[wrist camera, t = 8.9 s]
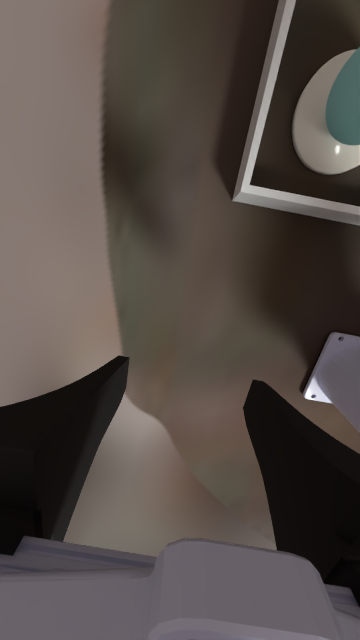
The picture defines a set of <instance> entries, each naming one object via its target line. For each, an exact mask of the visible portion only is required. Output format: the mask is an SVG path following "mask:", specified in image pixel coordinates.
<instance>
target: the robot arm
mask: <svg viewBox="0 0 360 640" xmlns="http://www.w3.org/2000/svg"><path fill="white" fill-rule="evenodd" d="M339 337H341V339H339ZM338 339H339V340H338ZM128 366H129V357H124V356H117V357H116V358H114V359H113V360H111V361H110V362H108V363H107V364H105V365H104V366H102V367H100V368H99V369H97V370H96V371H94V372H92V373H90V374H89V375H87V376H85V377H83V378H81V379H80V380H78V381H76V382H73V383H71V384H69V385H67V386H65V387H62V388H60V389H58V390H55V391H52V392H49V393H47V394H44V395H41V396H38V397H35V398H32V399H29V400H25V401H22V402H18V403H15V404H11V405H7V406H3V407H0V640H360V454H359V453H357V452H355V451H354V450H352V449H350V448H349V447H347V446H346V445H344V444H342V443H341V442H339V441H338V440H336V439H335V438H333V437H332V436H330V435H329V434H328V433H326V432H325V431H323V430H322V429H321V428H319V427H318V426H316V425H315V424H314V423H312V422H311V421H310V420H309V419H307V418H306V417H305V416H304V415H302V414H301V413H300V412H299V411H298V410H296V409H295V408H294V407H293V406H292V405H290V404H289V403H288V402H287V401H286V400H285V399H284V398H282V397H281V396H280V395H279V394H278V393H277V392H276V391H275V390H273V389H272V388H271V387H270V386H269V385H267V384H266V383H265V382H263V381H258V380H253V381H252V384H251V387H250V390H249V392H248V395H247V398H246V401H245V404H244V407H243V410H244V416H245V421H246V426H247V429H248V432H249V435H250V439H251V442H252V445H253V448H254V451H255V454H256V457H257V460H258V463H259V466H260V470H261V473H262V477H263V481H264V486H265V490H266V494H267V499H268V504H269V509H270V514H271V519H272V524H273V530H274V536H275V541H276V547H277V550H271V549H264V548H258V547H252V546H246V545H240V544H234V543H228V542H222V541H215V540H209V539H203V538H183V539H180V540H177V541H175V542H172V543H169V544H168V545H167V546H166V547H165V548H164V549H163V550H162V551H161V553H160V554H159V555H158V557H153V556H147V555H140V554H135V553H129V552H122V551H116V550H110V549H103V548H97V547H91V546H85V545H79V544H72V543H66V542H63V540H64V537H65V534H66V531H67V528H68V526H69V523H70V520H71V517H72V514H73V512H74V509H75V506H76V503H77V501H78V498H79V496H80V493H81V490H82V487H83V485H84V482H85V480H86V477H87V474H88V472H89V469H90V467H91V464H92V462H93V459H94V456H95V454H96V451H97V449H98V447H99V445H100V442H101V440H102V438H103V436H104V434H105V432H106V430H107V428H108V426H109V424H110V422H111V421H112V418H113V417H114V415H115V413H116V411H117V409H118V407H119V405H120V403H121V400H122V397H123V395H124V392H125V389H126V384H127V375H128ZM313 394H314V395H313ZM312 395H313V396H312ZM303 396H304V397H305V398H306V399H310V400H316V401H322V402H327V403H333V404H334V405H335V406H336V408H337V409H338V410H339V411H340V412H341V413H342V414H343V415H344V416H345V417H346V418H347V420H348V421H349V422H350V423H351V424H352V425H353V426H354V427H355V428H356V429H357V430H358V431H359V433H360V337H359V336H354V335H348V334H343V333H338V332H333V333H331V334H330V335H329V337H328V339H327V341H326V344H325V346H324V348H323V350H322V352H321V355H320V357H319V359H318V361H317V363H316V365H315V368H314V370H313V372H312V374H311V376H310V379H309V381H308V383H307V385H306V387H305V389H304V392H303Z"/></svg>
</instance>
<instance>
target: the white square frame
mask: <svg viewBox="0 0 360 640" xmlns="http://www.w3.org/2000/svg"><path fill="white" fill-rule="evenodd" d="M295 2H296V0H279V2H278V6H277V10H276V15H275V19H274V23H273V27H272V32H271V36H270V40H269V45H268V49H267V53H266V58H265V62H264V66H263V70H262V75H261V79H260V83H259V88H258V92H257V96H256V101H255V105H254V109H253V113H252V118H251V122H250V126H249V131H248V135H247V139H246V144H245V148H244V152H243V156H242V161H241V165H240V169H239V174H238V178H237V182H236V187H235V191H234V195H233V199H232V201H236V202H241V203H247V204H252V205H257V206H262V207H267V208H272V209H277V210H282V211H287V212H292V213H298V214H303V215H308V216H313V217H318V218H323V219H328V220H333V221H338V222H344V223H349V224H354V225H359V226H360V207H358V206H353V205H348V204H343V203H338V202H333V201H328V200H323V199H318V198H313V197H308V196H303V195H298V194H293V193H288V192H282V191H277V190H272V189H267V188H262V187H257V186H252V185H250V181H251V177H252V173H253V169H254V165H255V161H256V157H257V153H258V149H259V145H260V141H261V137H262V133H263V129H264V125H265V121H266V117H267V113H268V109H269V105H270V101H271V97H272V93H273V89H274V86H275V82H276V78H277V74H278V70H279V66H280V62H281V58H282V54H283V50H284V46H285V42H286V38H287V34H288V30H289V26H290V22H291V18H292V14H293V10H294V6H295Z"/></svg>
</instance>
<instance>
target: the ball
mask: <svg viewBox="0 0 360 640" xmlns="http://www.w3.org/2000/svg"><path fill="white" fill-rule="evenodd" d="M326 124H327V128H328V130H329V132H330V134H331V135H332V137H333V138H334V139H335V140H337V141H338V142H340V143H342V144H346V145H360V47H359V48H358V49H357V50H356V51H355V52H354V53H353V54H352V56H351V57H350V58H349V59H348V60H347V62H346V63H345V64H344V66H343V67H342V69H341V71H340V72H339V74H338V75H337V77H336V79H335V81H334V83H333V85H332V88H331V90H330V93H329V96H328V100H327V105H326Z"/></svg>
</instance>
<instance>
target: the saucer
mask: <svg viewBox="0 0 360 640" xmlns="http://www.w3.org/2000/svg"><path fill="white" fill-rule="evenodd" d="M356 50H357V49H354V50H350V51H346V52H344V53H341V54H339V55H337V56H335V57H333V58H332V59H331V60H329V61H328V62H326V63H325V64H324V65H323V66H322V67H321V68H320V69H319V70H318V71H317V72H316V73H315V75H314V76H313V77H312V79H311V80H310V81H309V83H308V84H307V86H306V87H305V88H304V90H303V92H302V94H301V96H300V98H299V100H298V102H297V105H296V108H295V111H294V116H293V121H292V140H293V145H294V148H295V151H296V154H297V156H298V157H299V159H300V160H301V162H302V163H303V164H304V165H305V166H306V167H307V168H308V169H310V170H311V171H313V172H316V173H319V174H323V175H335V174H340V173H343V172H346V171H348V170H350V169H352V168H355V167H357V166H358V165H360V145H346V144H342V143H340V142H338V141H337V140H335V139H334V138H333V137H332V135H331V134H330V132H329V130H328V128H327V124H326V105H327V100H328V96H329V93H330V90H331V88H332V85H333V83H334V81H335V79H336V77H337V75H338V74H339V72H340V71H341V69H342V67H343V66H344V64H345V63H346V62H347V60H348V59H349V58H350V57H351V56H352V54H353V53H354V52H355V51H356Z"/></svg>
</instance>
